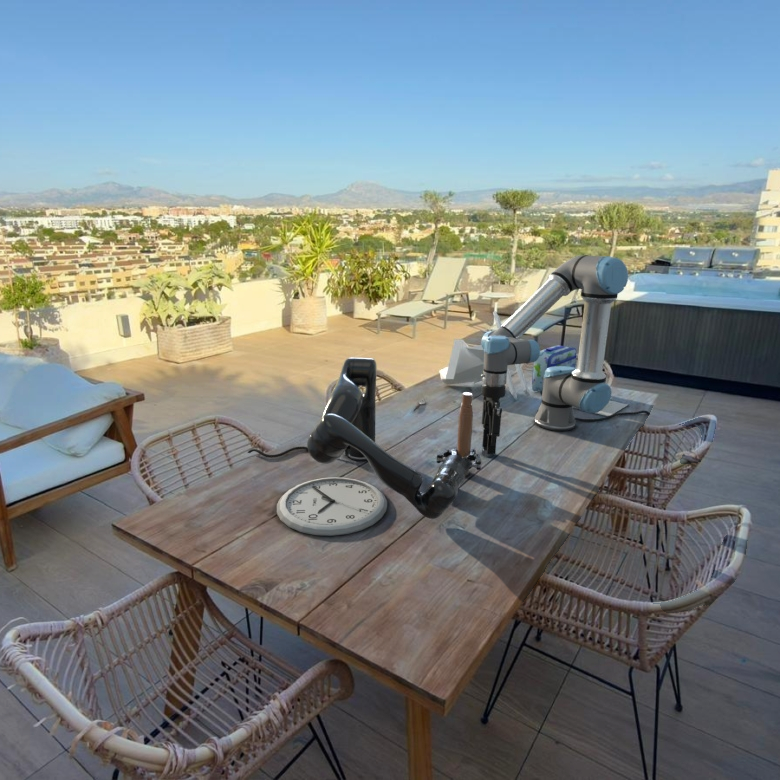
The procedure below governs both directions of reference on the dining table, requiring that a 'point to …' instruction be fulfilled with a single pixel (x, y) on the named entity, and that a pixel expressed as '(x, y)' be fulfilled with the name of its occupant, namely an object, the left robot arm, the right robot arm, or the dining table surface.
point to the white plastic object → (474, 365)
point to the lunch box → (551, 363)
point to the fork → (420, 403)
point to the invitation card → (611, 408)
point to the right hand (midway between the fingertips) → (488, 450)
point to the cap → (484, 452)
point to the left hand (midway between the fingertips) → (465, 449)
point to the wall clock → (331, 506)
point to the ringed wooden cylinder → (465, 425)
